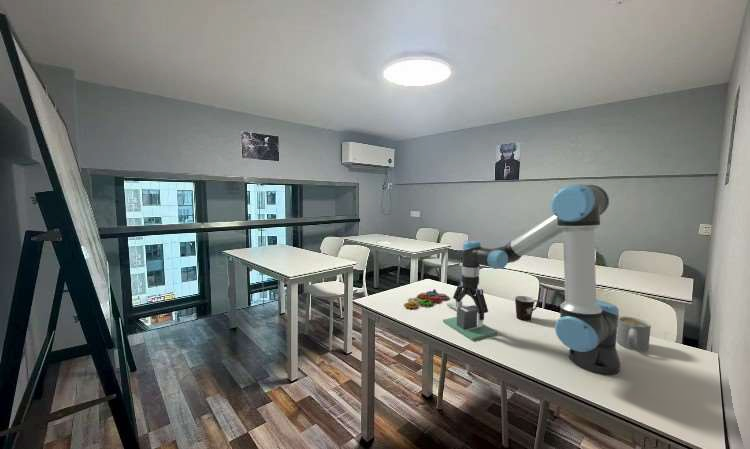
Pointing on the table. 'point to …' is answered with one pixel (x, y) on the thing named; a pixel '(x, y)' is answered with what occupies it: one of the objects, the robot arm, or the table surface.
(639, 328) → the coffee mug
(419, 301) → the gear puzzle
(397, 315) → the table surface
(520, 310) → the coffee mug
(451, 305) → the gun
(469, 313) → the plug
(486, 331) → the board
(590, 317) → the robot arm
